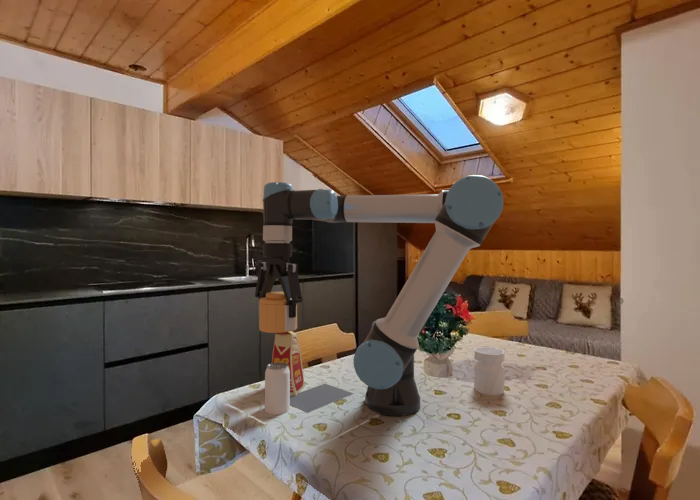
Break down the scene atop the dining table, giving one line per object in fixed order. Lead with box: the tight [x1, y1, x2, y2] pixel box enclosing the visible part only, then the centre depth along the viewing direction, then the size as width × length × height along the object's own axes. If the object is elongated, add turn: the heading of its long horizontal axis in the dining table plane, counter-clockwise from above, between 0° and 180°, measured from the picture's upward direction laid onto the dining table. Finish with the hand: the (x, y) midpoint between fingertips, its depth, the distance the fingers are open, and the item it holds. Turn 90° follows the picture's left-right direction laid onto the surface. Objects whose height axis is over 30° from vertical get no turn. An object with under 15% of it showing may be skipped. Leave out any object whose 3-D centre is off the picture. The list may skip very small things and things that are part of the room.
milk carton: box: [271, 331, 306, 396], centre depth 119 cm, size 9×9×20 cm
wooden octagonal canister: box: [258, 291, 298, 334], centre depth 104 cm, size 10×10×9 cm
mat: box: [290, 383, 354, 414], centre depth 113 cm, size 12×18×1 cm, turn 138°
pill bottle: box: [473, 346, 505, 396], centre depth 120 cm, size 9×9×12 cm
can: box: [264, 362, 291, 415], centre depth 104 cm, size 6×6×12 cm
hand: (277, 327), depth 104 cm, fingers closed on wooden octagonal canister, 10 cm apart
